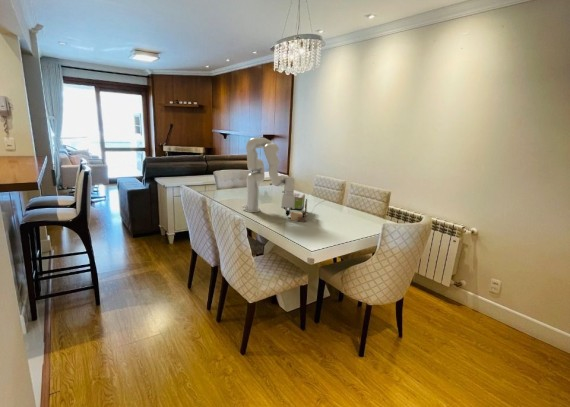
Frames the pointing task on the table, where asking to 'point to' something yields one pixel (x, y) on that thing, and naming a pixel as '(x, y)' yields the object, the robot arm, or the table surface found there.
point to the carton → (295, 214)
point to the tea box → (299, 202)
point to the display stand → (303, 214)
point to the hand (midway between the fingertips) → (287, 215)
